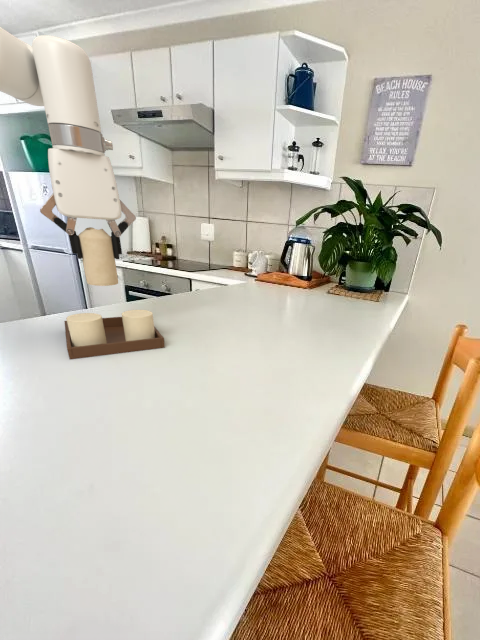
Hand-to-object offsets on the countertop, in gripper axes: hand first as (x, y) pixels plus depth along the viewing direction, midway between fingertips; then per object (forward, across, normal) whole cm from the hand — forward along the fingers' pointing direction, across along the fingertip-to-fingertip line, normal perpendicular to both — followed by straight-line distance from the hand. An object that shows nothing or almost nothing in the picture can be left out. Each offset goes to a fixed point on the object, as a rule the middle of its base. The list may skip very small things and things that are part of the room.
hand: (98, 257), depth 62 cm
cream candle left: (+15, +4, +7) cm, 18 cm away
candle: (+5, 0, 0) cm, 5 cm away
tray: (+16, 0, +3) cm, 17 cm away
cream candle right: (+15, -4, +7) cm, 18 cm away
